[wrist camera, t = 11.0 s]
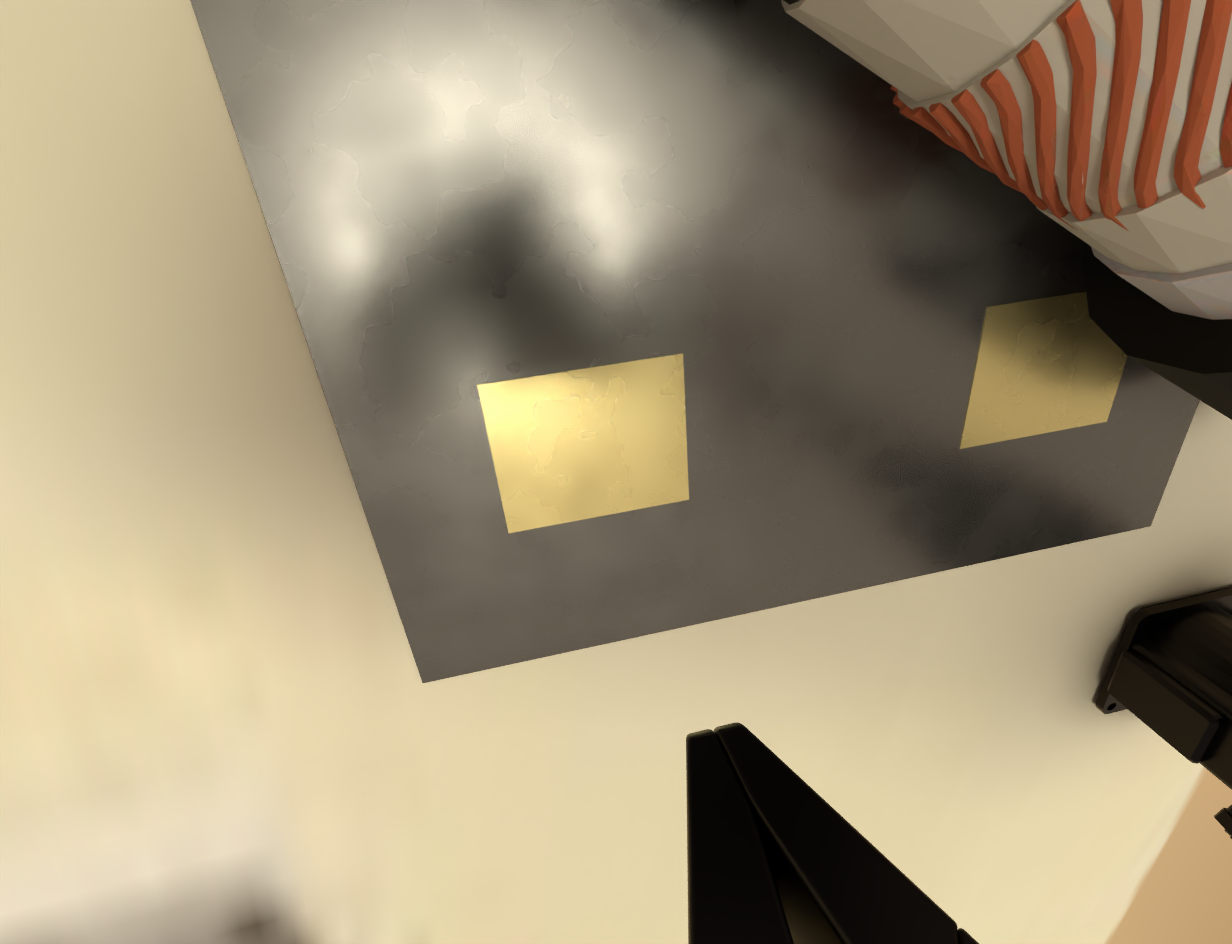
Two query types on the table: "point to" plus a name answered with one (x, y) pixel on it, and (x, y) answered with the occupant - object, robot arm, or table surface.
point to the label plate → (666, 316)
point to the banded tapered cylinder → (1087, 143)
